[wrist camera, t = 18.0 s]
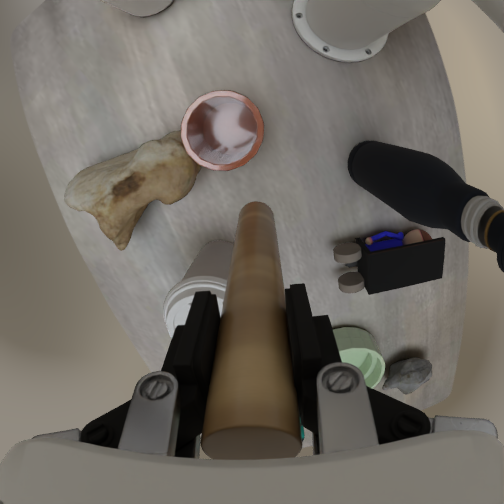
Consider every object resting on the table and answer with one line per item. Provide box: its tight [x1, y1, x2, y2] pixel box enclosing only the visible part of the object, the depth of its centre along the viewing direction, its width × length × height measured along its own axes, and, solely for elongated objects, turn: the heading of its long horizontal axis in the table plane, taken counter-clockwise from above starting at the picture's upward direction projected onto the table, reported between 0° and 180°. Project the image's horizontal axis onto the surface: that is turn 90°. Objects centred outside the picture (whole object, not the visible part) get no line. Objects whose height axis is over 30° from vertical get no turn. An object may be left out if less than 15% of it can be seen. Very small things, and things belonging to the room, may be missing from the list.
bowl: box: [333, 327, 385, 389], centre depth 47 cm, size 13×13×6 cm
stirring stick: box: [200, 201, 302, 460], centre depth 15 cm, size 3×3×18 cm
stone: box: [64, 131, 201, 250], centre depth 33 cm, size 17×12×10 cm
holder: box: [181, 90, 264, 171], centre depth 31 cm, size 8×8×10 cm
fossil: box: [382, 358, 432, 394], centre depth 47 cm, size 11×9×8 cm
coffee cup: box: [163, 240, 234, 338], centre depth 36 cm, size 10×10×15 cm
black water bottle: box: [348, 141, 504, 272], centre depth 23 cm, size 6×6×30 cm
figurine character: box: [333, 229, 445, 295], centre depth 38 cm, size 7×8×15 cm
